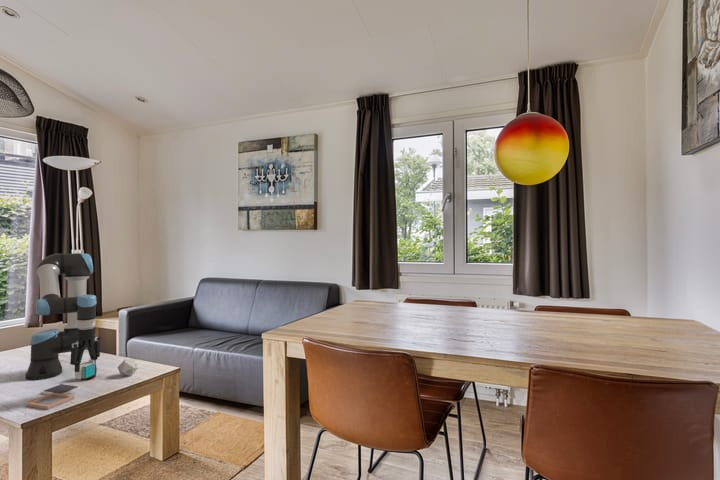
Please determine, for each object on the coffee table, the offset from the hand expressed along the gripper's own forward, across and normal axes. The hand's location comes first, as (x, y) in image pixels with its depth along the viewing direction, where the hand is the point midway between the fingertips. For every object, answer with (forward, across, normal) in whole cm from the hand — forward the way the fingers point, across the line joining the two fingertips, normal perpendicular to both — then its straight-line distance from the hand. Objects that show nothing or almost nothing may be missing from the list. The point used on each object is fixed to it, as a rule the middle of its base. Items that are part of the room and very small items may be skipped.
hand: (85, 375), depth 187 cm
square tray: (+8, -14, +3) cm, 16 cm away
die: (+9, +24, -1) cm, 26 cm away
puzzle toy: (+1, 0, 0) cm, 1 cm away
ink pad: (+8, -2, +11) cm, 14 cm away
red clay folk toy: (+9, +14, +14) cm, 22 cm away
